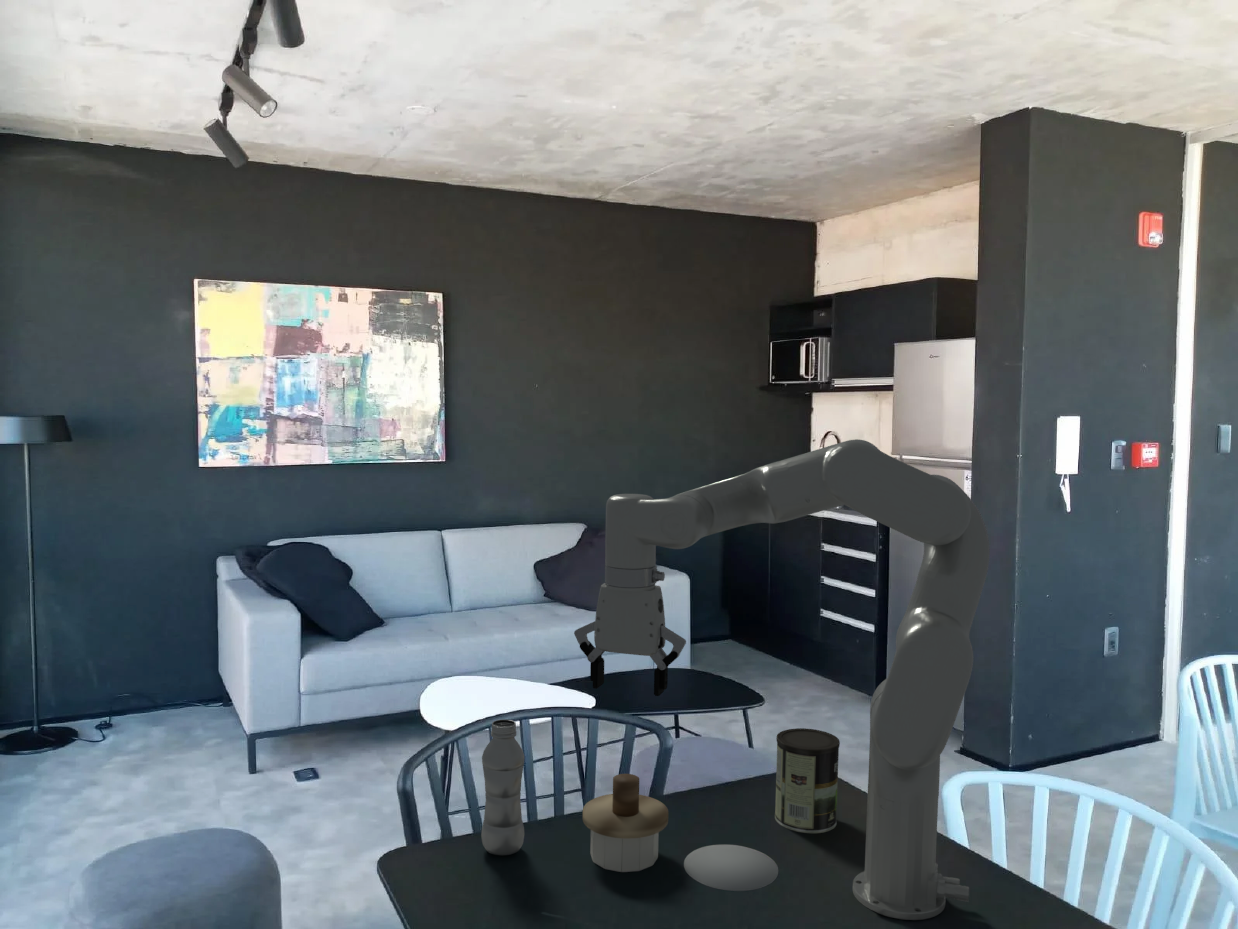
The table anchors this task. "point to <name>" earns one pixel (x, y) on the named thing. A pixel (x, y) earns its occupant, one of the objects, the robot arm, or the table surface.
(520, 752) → the plastic bottle
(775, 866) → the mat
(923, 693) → the robot arm
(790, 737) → the coffee can
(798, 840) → the table surface
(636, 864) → the bowl
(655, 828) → the lid
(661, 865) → the table surface
